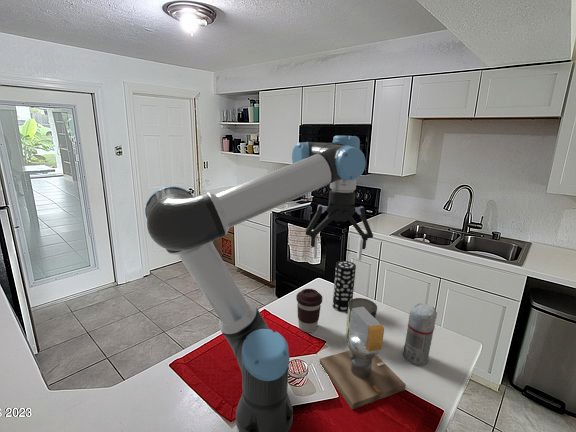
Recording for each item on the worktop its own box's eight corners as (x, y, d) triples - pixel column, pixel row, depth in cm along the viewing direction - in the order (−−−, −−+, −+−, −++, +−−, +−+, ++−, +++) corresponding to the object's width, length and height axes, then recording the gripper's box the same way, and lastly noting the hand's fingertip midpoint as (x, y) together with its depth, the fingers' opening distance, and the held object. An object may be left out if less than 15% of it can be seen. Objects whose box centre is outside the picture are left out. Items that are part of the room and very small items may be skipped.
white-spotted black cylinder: (328, 305, 140) (332, 264, 134) (340, 299, 145) (344, 259, 140) (343, 314, 134) (347, 270, 128) (355, 307, 139) (359, 265, 134)
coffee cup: (313, 338, 118) (316, 302, 114) (290, 329, 122) (291, 294, 118) (324, 324, 126) (326, 290, 122) (302, 316, 131) (304, 284, 127)
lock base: (352, 409, 88) (355, 379, 85) (319, 363, 105) (321, 337, 102) (404, 389, 95) (409, 362, 93) (366, 350, 112) (369, 325, 110)
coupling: (342, 339, 101) (344, 309, 98) (366, 335, 104) (370, 305, 101) (360, 364, 91) (363, 331, 88) (387, 359, 93) (391, 326, 90)
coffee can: (372, 332, 122) (376, 299, 119) (373, 349, 113) (378, 314, 109) (345, 328, 124) (348, 296, 121) (344, 344, 115) (348, 310, 111)
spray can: (433, 366, 105) (443, 314, 100) (409, 367, 105) (417, 314, 99) (421, 349, 113) (429, 300, 108) (398, 350, 113) (406, 300, 107)
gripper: (299, 190, 89) (296, 260, 95) (388, 194, 89) (380, 264, 94) (299, 186, 96) (296, 251, 102) (382, 189, 96) (374, 254, 101)
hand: (336, 257), depth 98 cm, fingers open, 13 cm apart
